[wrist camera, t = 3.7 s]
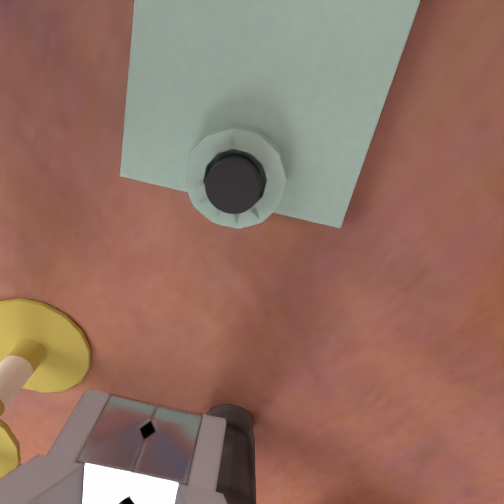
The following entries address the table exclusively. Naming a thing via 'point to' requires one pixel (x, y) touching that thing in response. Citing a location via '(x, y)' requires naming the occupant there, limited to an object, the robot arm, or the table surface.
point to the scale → (261, 97)
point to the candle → (36, 360)
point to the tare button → (233, 184)
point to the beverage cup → (236, 456)
